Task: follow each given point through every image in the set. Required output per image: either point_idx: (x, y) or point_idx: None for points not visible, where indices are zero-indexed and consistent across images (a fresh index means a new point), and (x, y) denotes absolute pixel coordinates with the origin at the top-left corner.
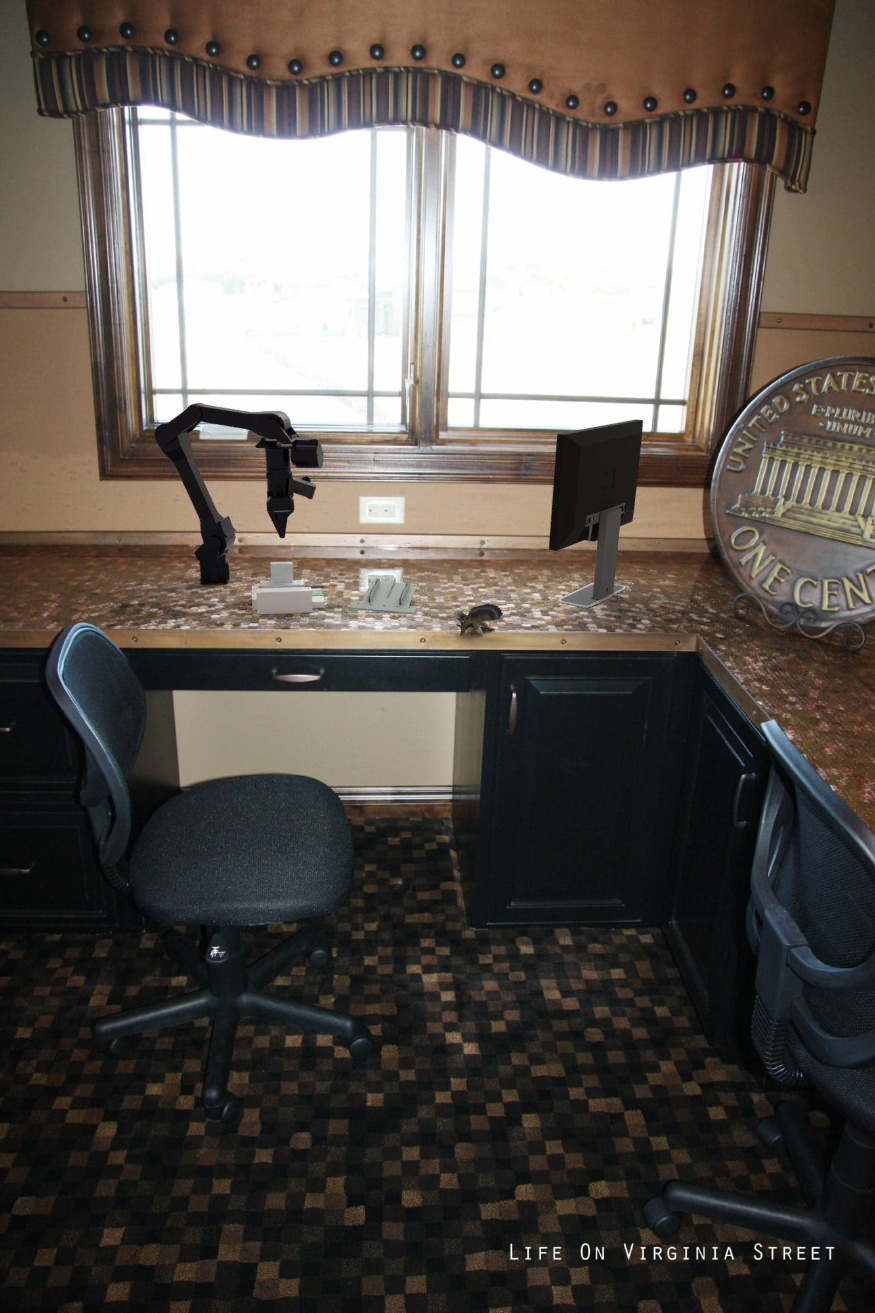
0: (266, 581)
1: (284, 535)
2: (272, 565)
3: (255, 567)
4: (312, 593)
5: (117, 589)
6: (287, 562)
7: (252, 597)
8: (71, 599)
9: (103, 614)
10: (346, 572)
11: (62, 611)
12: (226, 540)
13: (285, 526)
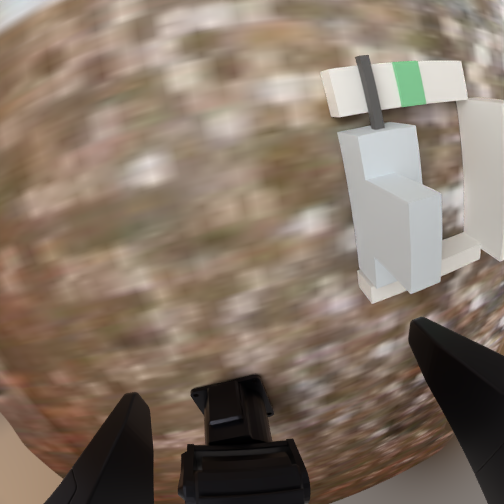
0: (380, 269)
1: (436, 326)
2: (438, 273)
3: (71, 353)
4: (410, 95)
5: (309, 470)
6: (421, 222)
7: (468, 263)
8: (354, 475)
9: (424, 427)
10: (23, 60)
11: (401, 457)
12: (295, 479)
13: (497, 357)
